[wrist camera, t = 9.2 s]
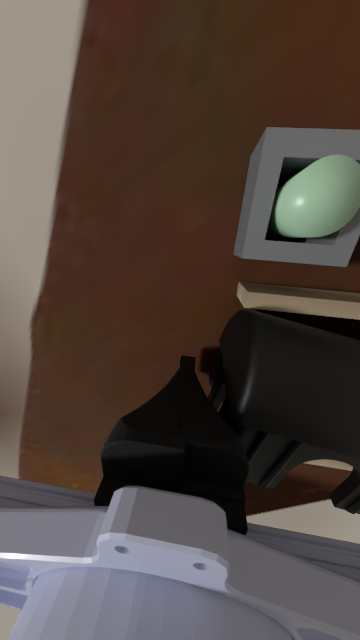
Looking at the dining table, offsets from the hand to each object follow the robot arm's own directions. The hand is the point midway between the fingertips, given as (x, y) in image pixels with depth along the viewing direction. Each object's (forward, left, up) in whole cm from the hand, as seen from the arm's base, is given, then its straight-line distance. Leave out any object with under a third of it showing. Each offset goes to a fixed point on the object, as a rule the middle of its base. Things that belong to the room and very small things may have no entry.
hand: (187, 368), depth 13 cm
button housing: (+10, -4, -1) cm, 10 cm away
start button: (+10, -4, -1) cm, 10 cm away
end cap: (+1, -7, -1) cm, 7 cm away
